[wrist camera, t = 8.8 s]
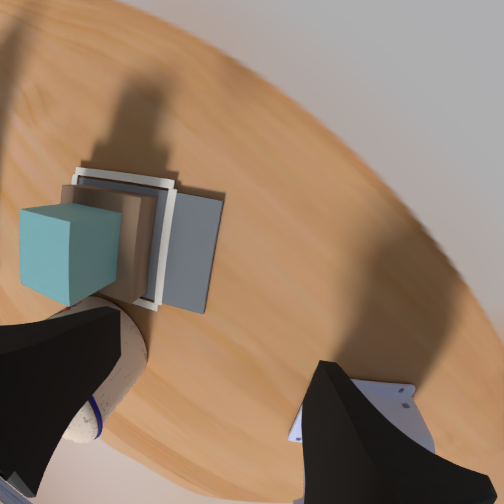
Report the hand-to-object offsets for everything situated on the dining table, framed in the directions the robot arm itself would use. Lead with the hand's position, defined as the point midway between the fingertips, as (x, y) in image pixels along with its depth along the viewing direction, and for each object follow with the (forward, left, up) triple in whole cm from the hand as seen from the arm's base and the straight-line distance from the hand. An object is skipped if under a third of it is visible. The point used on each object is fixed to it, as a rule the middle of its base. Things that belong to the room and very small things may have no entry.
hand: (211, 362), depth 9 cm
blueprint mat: (+9, -1, -10) cm, 14 cm away
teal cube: (+11, -1, -8) cm, 13 cm away
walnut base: (+11, -1, -10) cm, 15 cm away
